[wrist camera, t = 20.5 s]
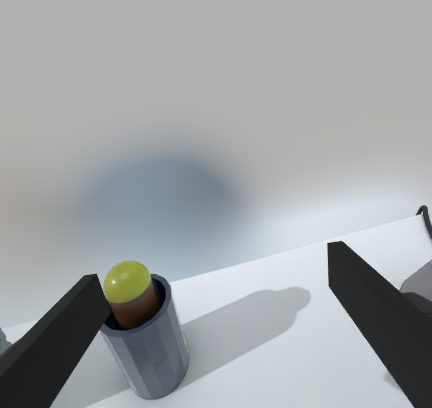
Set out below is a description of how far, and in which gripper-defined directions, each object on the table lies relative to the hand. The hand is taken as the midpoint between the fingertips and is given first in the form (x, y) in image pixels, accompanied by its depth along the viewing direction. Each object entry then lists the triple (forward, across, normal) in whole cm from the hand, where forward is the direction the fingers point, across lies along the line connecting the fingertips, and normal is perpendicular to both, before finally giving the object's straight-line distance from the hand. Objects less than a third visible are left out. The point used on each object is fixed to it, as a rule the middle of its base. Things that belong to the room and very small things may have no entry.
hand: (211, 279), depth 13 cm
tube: (+11, -11, -19) cm, 24 cm away
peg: (+10, -11, -18) cm, 24 cm away
